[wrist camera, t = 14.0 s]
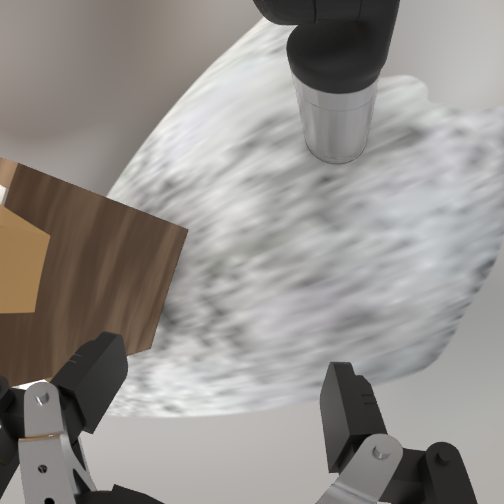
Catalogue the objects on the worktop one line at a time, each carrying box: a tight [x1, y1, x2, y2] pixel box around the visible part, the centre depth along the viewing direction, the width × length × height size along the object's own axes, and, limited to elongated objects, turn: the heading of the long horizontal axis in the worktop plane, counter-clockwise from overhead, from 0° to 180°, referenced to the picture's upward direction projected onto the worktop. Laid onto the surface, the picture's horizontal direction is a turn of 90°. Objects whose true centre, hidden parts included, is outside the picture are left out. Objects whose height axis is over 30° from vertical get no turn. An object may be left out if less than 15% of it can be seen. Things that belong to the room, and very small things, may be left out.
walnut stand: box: [0, 158, 188, 387], centre depth 31 cm, size 12×20×32 cm, turn 160°
